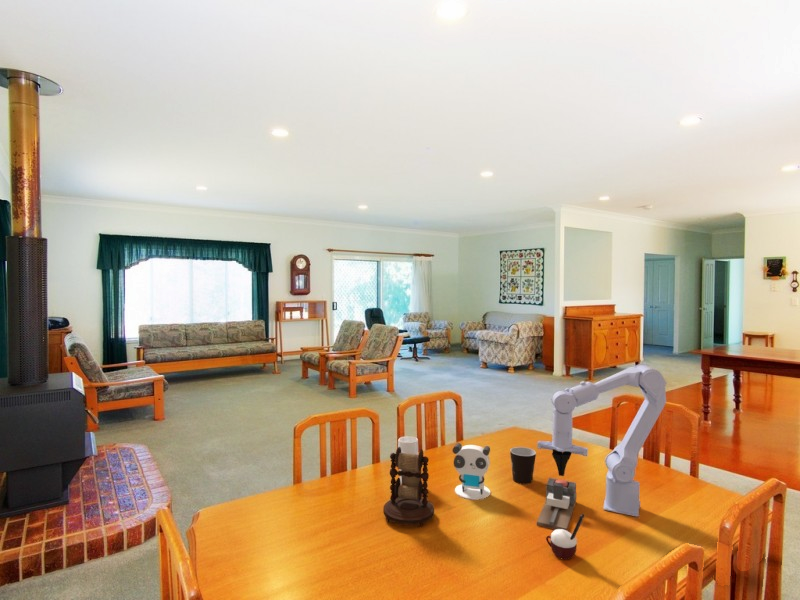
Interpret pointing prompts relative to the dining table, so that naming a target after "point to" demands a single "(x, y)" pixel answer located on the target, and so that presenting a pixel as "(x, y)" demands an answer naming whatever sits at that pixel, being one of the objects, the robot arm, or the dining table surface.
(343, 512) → the dining table surface
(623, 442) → the robot arm
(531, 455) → the coffee mug
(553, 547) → the cocoa
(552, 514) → the rail board
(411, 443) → the drinking glass
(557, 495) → the carriage
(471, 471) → the panda figurine
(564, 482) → the button
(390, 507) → the dark brown wooden stand
